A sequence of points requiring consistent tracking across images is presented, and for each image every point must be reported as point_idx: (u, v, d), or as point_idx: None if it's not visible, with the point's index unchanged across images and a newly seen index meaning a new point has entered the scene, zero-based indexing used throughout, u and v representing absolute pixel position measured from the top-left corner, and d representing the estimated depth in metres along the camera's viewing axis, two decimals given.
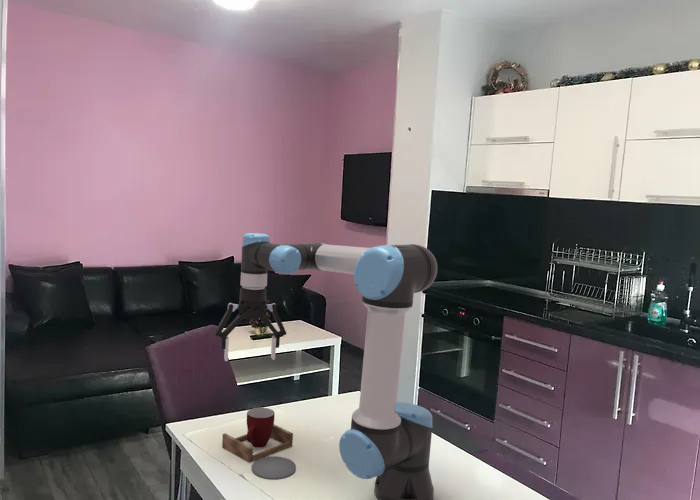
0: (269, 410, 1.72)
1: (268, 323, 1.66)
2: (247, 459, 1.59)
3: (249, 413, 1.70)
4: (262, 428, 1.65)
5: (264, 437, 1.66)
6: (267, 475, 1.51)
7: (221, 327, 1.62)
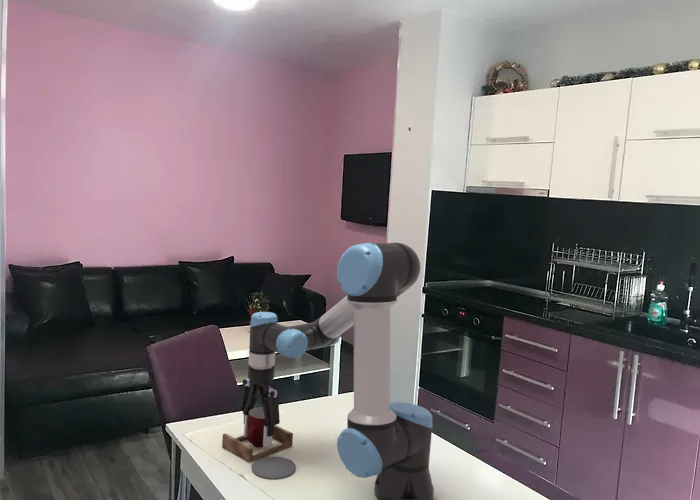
0: None
1: (264, 407, 1.64)
2: (247, 459, 1.59)
3: (250, 412, 1.69)
4: (263, 429, 1.65)
5: None
6: (267, 475, 1.51)
7: (241, 402, 1.71)
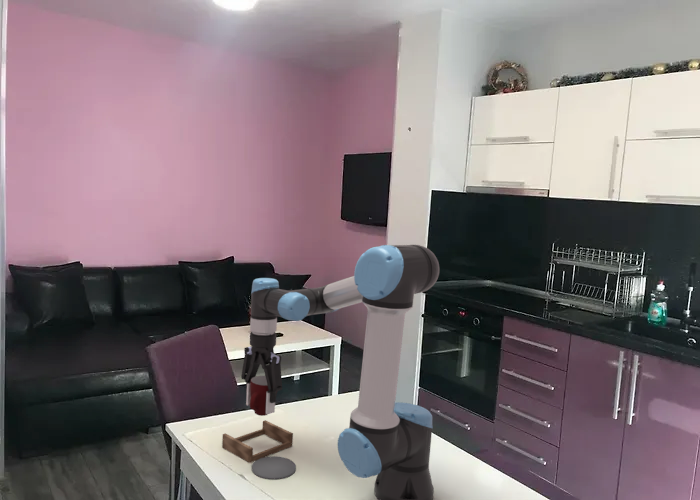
0: None
1: (266, 373, 1.63)
2: (247, 459, 1.59)
3: (252, 381, 1.68)
4: (265, 396, 1.63)
5: None
6: (267, 475, 1.51)
7: (243, 370, 1.69)
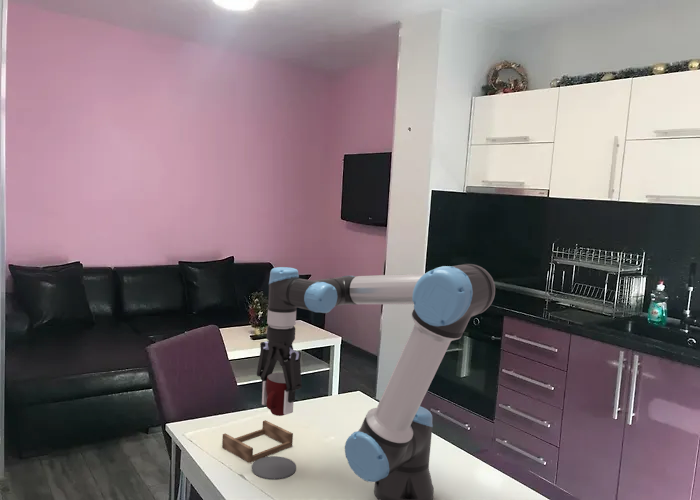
0: None
1: (284, 370, 1.50)
2: (247, 459, 1.59)
3: (269, 378, 1.56)
4: (283, 395, 1.51)
5: None
6: (267, 475, 1.51)
7: (259, 367, 1.57)
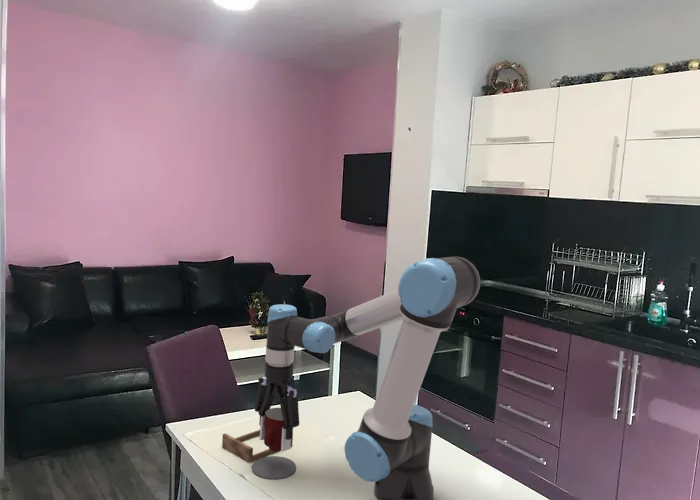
0: None
1: (282, 408, 1.51)
2: (247, 459, 1.59)
3: (267, 413, 1.57)
4: (281, 431, 1.52)
5: None
6: (267, 475, 1.51)
7: (257, 402, 1.58)
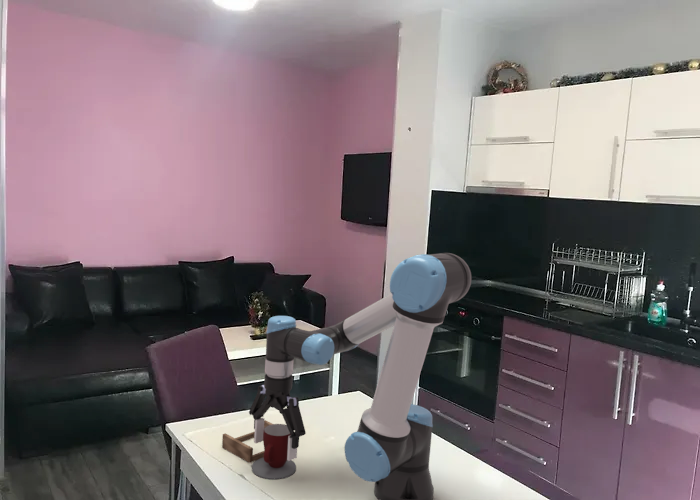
0: (287, 427, 1.59)
1: (285, 418, 1.50)
2: (247, 459, 1.59)
3: (265, 430, 1.57)
4: (280, 447, 1.52)
5: (282, 456, 1.53)
6: (267, 475, 1.51)
7: (252, 407, 1.59)
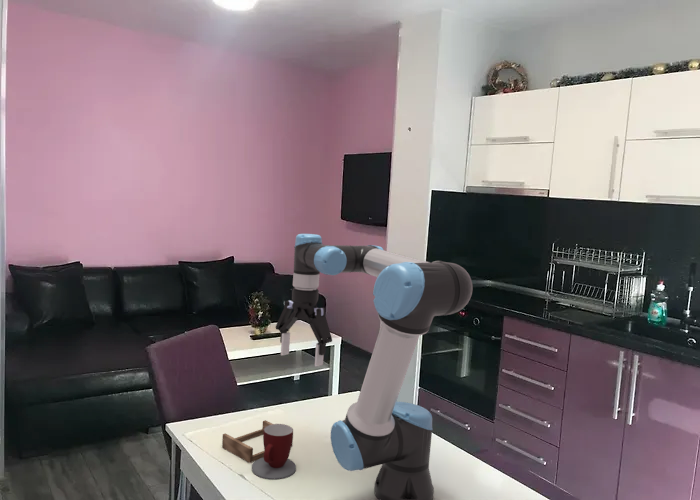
0: (287, 427, 1.59)
1: (312, 327, 1.61)
2: (247, 459, 1.59)
3: (266, 430, 1.57)
4: (280, 447, 1.52)
5: (282, 456, 1.53)
6: (267, 475, 1.51)
7: (279, 321, 1.70)
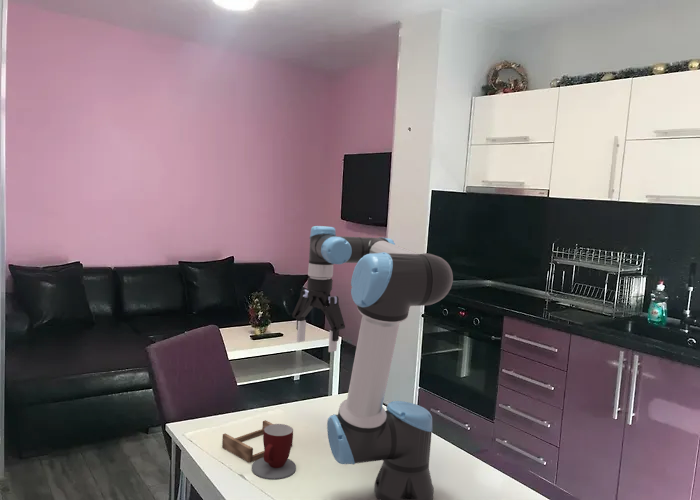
0: (287, 427, 1.59)
1: (326, 314, 1.70)
2: (247, 459, 1.59)
3: (266, 430, 1.57)
4: (280, 447, 1.52)
5: (282, 456, 1.53)
6: (267, 475, 1.51)
7: (295, 309, 1.78)
